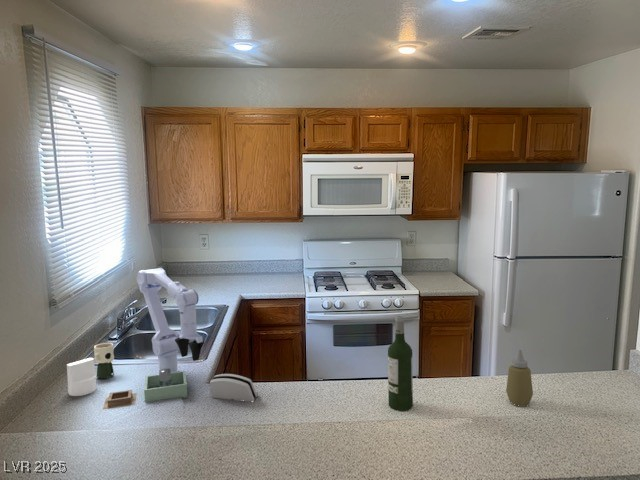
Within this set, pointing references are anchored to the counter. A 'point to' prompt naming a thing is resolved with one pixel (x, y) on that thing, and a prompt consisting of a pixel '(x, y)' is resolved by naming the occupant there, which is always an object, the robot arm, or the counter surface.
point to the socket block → (120, 399)
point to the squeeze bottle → (519, 381)
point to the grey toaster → (232, 387)
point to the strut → (165, 377)
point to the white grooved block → (81, 377)
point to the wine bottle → (400, 370)
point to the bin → (167, 390)
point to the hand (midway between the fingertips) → (190, 358)
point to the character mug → (104, 359)
